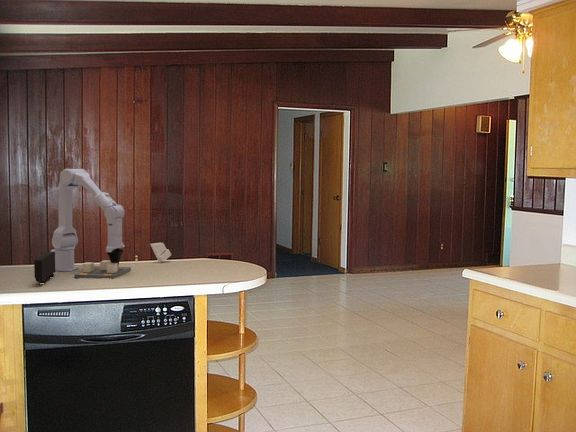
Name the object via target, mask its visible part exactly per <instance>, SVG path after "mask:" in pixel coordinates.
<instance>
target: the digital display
mask: <svg viewBox="0 0 576 432" xmlns="http://www.w3.org/2000/svg"><path fill="white" fill-rule="evenodd" d="M33 265H34V268H33V269H34V271H33V272H34V274H33V275H34V278H35V281H36V282H38V284H39V283H45V284H46V280H47V279H49V278H48V277H53V278H54V277H55V275H54V273H56V271H55V252H51V251H46V252H45V253H43V254H42V255H40V256H39V257H36V258H34V261H33Z"/></svg>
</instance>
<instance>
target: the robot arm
mask: <svg viewBox="0 0 576 432" xmlns="http://www.w3.org/2000/svg"><path fill="white" fill-rule="evenodd" d="M78 186H82V187H84V189H85V190H86V191H88V193H90V194H91V195H92V196H93V197H94V202H95V203H96V204H97V206H98V207H100V209H101V210H102V211H103V215H104V217H105V219H106V224H107V245H106V247H105V252H106V254H107V256H108V257H109V260H110V261H111V263H118V266H119V264H120V260H121V258H122V254H123V253H124V249H123V248H125V247H126V245H125V244H124V242H123V218H124V217H125V214H126V209H125V208H124V207H123V205H121V204H118V203H117V202H116V201H114V199H112V197H111V196H110V194H109V193H108V192H105V191H101V189H100V188H99V187H98V186H97V185H96V183H95V182H94V181H93V180H92V178H91V175H90V173H89V172H88V171H87V170H85V169H84V168H64V169H63V170H62V171H61V172H60V173H59V184H58V227H57V228H56V229H55V230H54V231H53V236H52V239H51V245H52V247H53V248H54V249H51V250H50V252H55V272H71V271H74V270H77V269H79V266H75V249H76V246H77V245H78V242H79V238H78V235H77V230H76V228H74V227H73V191H74V189H76V188H77V187H78Z"/></svg>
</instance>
